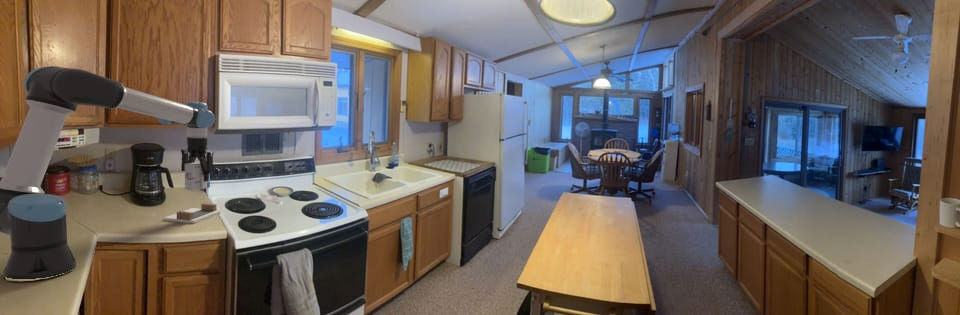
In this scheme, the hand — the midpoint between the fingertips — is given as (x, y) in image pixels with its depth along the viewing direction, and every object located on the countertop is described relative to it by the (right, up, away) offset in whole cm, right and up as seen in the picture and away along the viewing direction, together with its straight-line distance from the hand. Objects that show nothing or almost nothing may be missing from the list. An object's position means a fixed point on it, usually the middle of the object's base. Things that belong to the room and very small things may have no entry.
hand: (197, 187), depth 187 cm
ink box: (0, -1, 0) cm, 1 cm away
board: (-3, -14, +2) cm, 14 cm away
